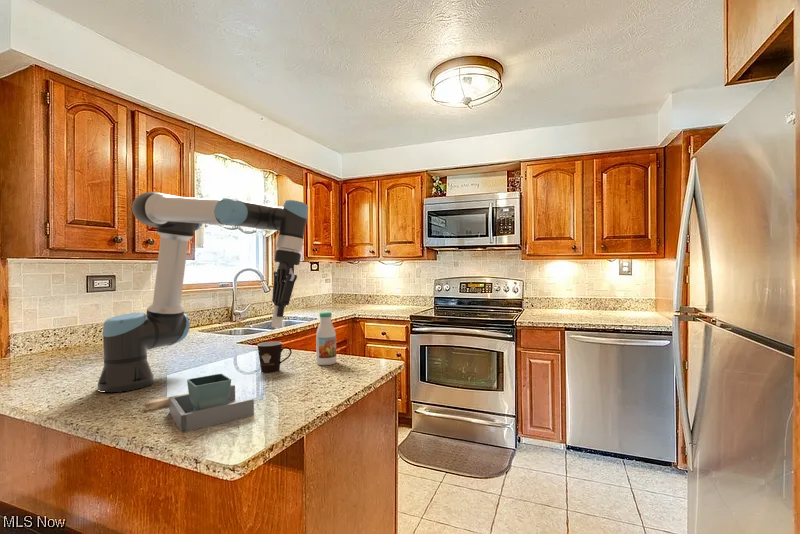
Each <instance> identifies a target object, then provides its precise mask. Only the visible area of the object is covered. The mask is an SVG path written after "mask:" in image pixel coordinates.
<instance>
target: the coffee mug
mask: <svg viewBox="0 0 800 534" xmlns="http://www.w3.org/2000/svg"><path fill="white" fill-rule="evenodd" d="M282 345H283V342H281V341H265V342H260V343H258V344H257V350H258V351H257V353H258V358H259V365H260V371H261V373H262V372H263V373H262V374H272V373H273V372H274V373H277V371H278V372H279V371H280V370H281V367H280V366H281V364H282V363H283V362H285V361H286V360H288V359H289V358H290V356H291V355H292V353H293V351H292V349H291V348H290V347H289V346H283V347H282ZM285 349H288V350H289V354H288V356H286V357H285V358H284V359H282V360H281V357H282V352H283V351H284V350H285Z"/></svg>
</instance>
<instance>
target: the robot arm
mask: <svg viewBox="0 0 800 534" xmlns="http://www.w3.org/2000/svg"><path fill="white" fill-rule="evenodd" d="M131 208H132V213H133V214H132V215H133V216H134V218H135V219H137V221H139V222H140V223H141V224H143V225H145V226H148V227H151V228H156V233H157V235H158V236H159V237H160V241H159V249H158V257H157V266H156V274H155V280H154V289H153V300H152V303H151V304H150V305H149V306H148V307H147V308H146V313H145V312H131V313H125V314H124V313H123V314H120V315H116V316H112V317H109V318H107V319H106V320H104V322H103V325H102V326H103V327H102V333H101V334H102V336H103V341H102V342H103V368H102V370H101V373H100V376H99V380H98V382H97V391H98V390H100V391H105V392H118V393H121V392H120V391H126V392H130V391H129V390H131V391H134V390H135V389H136V390H139V388H140V389H143V388H146V387H149V386H151V385H153V384H154V381H155V380H154V379H155V378H154V373H153V371H152V368H151V366H150V364H149V361H148V351H147V350H152V349H153V350H154V349H157V348H160V347H161V348H162V347H166V346H172V345H174V344H178V343H180V342H182V341H183V340H184V339H186V337H187V336H188V335H189V332H190V327H191V323H190V319H189V316H188V315H187V314H186V313H185V309H184V308H183V307H182V306H181V303H182V295H183V294H182V292H183V285H184V279H185V278H184V277H185V269H186V262H187V253H188V245H189V241H190V240H191V239H193V238H194V235H195V232H196V231H198V230H199V229H200V227H202V226H203V225H204V224H207V225H219V226H220V225H223V226H233V227H235V226H236V227H246V228H253V229H258V230H270V231H277V232H278V236H277V241H276V248H277V250H275V255H274V262H276V263H278V266H277V270H276V271H274V272H273V285H272V295H271V296H272V298H271V301H272V303H273V305H274V306H273V313H272V319H271V323H270V327H271V328H278V329H279V328H282V326H283V325H282V324H283V320H284V315H285V309H286V308H285V307H287V306H289V305H290V302H291V298H292V293H293V289H294V286H295V282H296V280H297V278H298V275H297V274H295V266H299V265H300V263H301V257H302V254H301V253H300V252H302V250H303V246H304V244H305V243H304V236H305V232H306V231H305V230H306V228H307V227H306V225H307V223H308V222H307V220H308V212H309V206H308V205H307V204H306V203H304V202H302V201H299V200H294V199H287V200H284V203H283V206H275V205H266V204H262V203H257V202H251V201H247V200H242V199H239V198H236V197H235V198H233V197H223V198H201V197H200V198H199V197H198V198H197V197H186V196H179V195H173V194H169V193H168V194H167V193H162V192H159V191H158V192H156V191H147V192H143V193H141V194H139V195H137V196H136V197H135V199H134V200H133V201H132V206H131Z"/></svg>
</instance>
